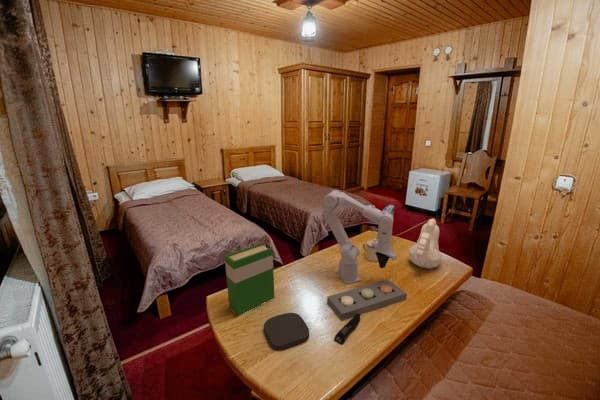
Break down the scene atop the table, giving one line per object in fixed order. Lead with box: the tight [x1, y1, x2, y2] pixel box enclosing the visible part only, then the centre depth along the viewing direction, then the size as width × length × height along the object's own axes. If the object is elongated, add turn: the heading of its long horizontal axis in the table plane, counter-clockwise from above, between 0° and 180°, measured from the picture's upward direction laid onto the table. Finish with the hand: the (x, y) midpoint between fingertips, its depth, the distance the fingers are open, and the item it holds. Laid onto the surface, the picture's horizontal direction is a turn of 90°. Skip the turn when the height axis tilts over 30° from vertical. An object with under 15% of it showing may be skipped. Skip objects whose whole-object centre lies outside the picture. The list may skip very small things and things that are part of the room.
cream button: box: [341, 296, 353, 307], centre depth 117 cm, size 5×5×2 cm
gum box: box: [376, 204, 395, 240], centre depth 170 cm, size 20×5×23 cm, turn 151°
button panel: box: [326, 278, 408, 321], centre depth 121 cm, size 12×32×3 cm, turn 114°
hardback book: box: [224, 242, 275, 317], centre depth 117 cm, size 18×7×24 cm, turn 130°
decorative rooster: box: [407, 218, 442, 270], centre depth 145 cm, size 25×16×25 cm, turn 133°
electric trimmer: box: [334, 313, 361, 345], centre depth 105 cm, size 4×16×3 cm, turn 141°
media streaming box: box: [263, 312, 310, 351], centre depth 104 cm, size 15×15×3 cm
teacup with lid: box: [362, 238, 379, 263], centre depth 157 cm, size 12×9×12 cm
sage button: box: [361, 288, 374, 300], centre depth 120 cm, size 5×5×2 cm
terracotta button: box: [380, 285, 392, 294], centre depth 124 cm, size 5×5×2 cm
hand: (382, 267), depth 130 cm, fingers closed
